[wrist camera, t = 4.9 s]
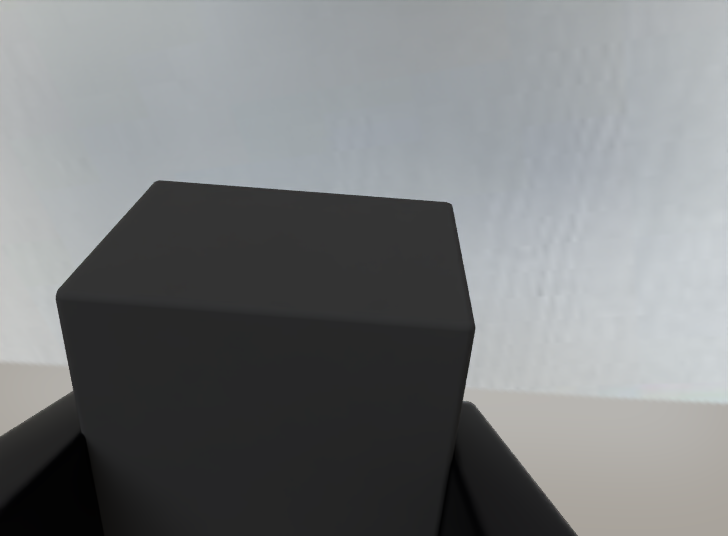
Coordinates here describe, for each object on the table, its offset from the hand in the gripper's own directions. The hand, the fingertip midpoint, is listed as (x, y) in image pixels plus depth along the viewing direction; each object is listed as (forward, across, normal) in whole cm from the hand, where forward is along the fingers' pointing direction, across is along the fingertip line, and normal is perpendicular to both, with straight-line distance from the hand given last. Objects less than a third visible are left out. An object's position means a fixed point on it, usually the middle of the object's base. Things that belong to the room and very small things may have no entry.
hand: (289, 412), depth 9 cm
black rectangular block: (+2, 0, 0) cm, 2 cm away
